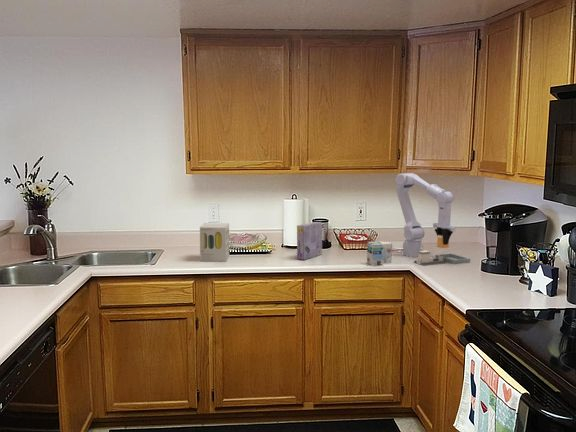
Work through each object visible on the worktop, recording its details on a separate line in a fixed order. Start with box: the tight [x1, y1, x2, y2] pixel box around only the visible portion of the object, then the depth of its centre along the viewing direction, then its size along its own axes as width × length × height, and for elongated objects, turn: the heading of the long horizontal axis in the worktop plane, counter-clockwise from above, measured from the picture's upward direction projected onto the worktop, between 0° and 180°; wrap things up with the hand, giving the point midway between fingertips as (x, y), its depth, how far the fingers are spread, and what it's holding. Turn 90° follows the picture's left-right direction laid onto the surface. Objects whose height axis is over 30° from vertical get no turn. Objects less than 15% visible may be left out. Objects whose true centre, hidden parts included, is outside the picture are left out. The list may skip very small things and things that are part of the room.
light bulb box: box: [366, 240, 393, 267], centre depth 273 cm, size 11×7×11 cm, turn 105°
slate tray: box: [434, 252, 471, 265], centre depth 278 cm, size 14×10×3 cm
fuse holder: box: [412, 256, 448, 267], centre depth 273 cm, size 9×14×4 cm, turn 114°
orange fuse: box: [436, 235, 450, 249], centre depth 274 cm, size 3×5×6 cm
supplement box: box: [199, 222, 230, 263], centre depth 282 cm, size 13×13×18 cm
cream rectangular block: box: [417, 250, 431, 263], centre depth 271 cm, size 3×5×6 cm
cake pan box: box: [296, 221, 323, 261], centre depth 288 cm, size 19×5×18 cm, turn 146°
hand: (443, 243), depth 275 cm, fingers closed on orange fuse, 3 cm apart
